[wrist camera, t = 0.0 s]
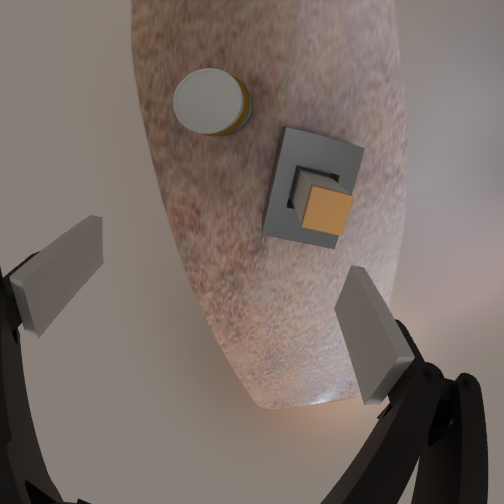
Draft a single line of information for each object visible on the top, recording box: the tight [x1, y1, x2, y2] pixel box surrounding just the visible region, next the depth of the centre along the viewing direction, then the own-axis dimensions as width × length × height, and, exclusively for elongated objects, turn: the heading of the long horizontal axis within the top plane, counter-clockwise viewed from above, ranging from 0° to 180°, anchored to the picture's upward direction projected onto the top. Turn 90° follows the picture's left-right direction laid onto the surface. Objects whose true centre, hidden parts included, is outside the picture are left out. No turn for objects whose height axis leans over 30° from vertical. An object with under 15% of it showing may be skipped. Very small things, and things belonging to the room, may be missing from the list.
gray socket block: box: [262, 126, 364, 249], centre depth 38 cm, size 14×10×6 cm
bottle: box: [173, 68, 252, 136], centre depth 29 cm, size 7×7×15 cm
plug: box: [290, 166, 353, 236], centre depth 33 cm, size 4×4×13 cm
